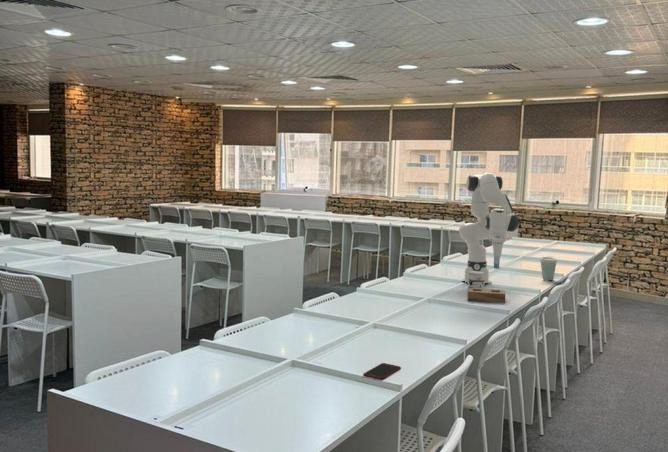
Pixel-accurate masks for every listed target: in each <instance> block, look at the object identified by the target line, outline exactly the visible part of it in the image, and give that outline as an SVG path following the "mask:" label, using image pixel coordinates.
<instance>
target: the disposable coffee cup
mask: <svg viewBox="0 0 668 452" xmlns="http://www.w3.org/2000/svg"><path fill="white" fill-rule="evenodd" d="M557 262H558V261H557V259H556V258H554V257H549V256H542V257H541V258H540V267H541V268H540V269H541V276H542V280H543V279H544V280H543V281H545V280H553V281H554V278H555V277H554V276H555V274H556V273H555V271H556V266H557Z"/></svg>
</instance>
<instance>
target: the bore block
mask: <svg viewBox="0 0 668 452" xmlns="http://www.w3.org/2000/svg"><path fill="white" fill-rule="evenodd" d="M467 302H484V303H497V304H500V303H501V304H505V303H506V290H505V289H499V288H496V289H494V288H484V289H482V288H468V287H467Z"/></svg>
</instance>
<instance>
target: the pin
mask: <svg viewBox="0 0 668 452" xmlns="http://www.w3.org/2000/svg"><path fill="white" fill-rule="evenodd" d="M493 269H494V270H498V269H500V257H499V263H498V264H496V263H495V257H494V256H493Z"/></svg>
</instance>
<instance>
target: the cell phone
mask: <svg viewBox="0 0 668 452" xmlns="http://www.w3.org/2000/svg"><path fill="white" fill-rule="evenodd" d="M400 370H402V367H401V366H399V365H394V364H391V363H383V362H382V363H380V364H377V365H376V366H375V367H372V368H371V369H369V370H368V371H366V372H364V373H363V377H365V376H366V377H365V378H369V377H370V378H371V379H374V378H375V379H374V380H378V379H381V380H380V381H384V380H385V379H387V378H388V377H390V376H392V375H394V374H395V373H397V372H398V371H400Z"/></svg>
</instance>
